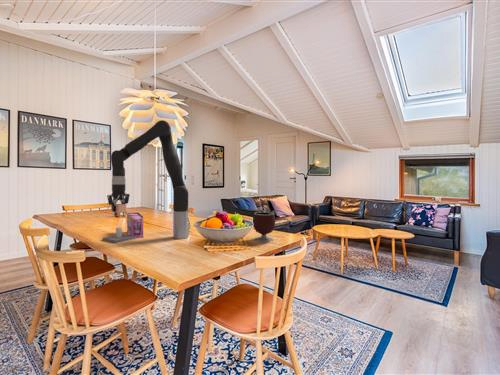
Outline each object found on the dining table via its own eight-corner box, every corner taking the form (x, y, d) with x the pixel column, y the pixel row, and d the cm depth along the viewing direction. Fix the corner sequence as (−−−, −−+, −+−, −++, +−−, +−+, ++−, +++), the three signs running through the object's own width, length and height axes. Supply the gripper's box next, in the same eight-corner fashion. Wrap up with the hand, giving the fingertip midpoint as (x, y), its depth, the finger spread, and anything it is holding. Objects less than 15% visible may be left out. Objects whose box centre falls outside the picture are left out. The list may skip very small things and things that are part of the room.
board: (121, 236, 178) (121, 224, 178) (134, 238, 172) (134, 226, 171) (102, 240, 167) (102, 227, 166) (115, 243, 160) (115, 230, 160)
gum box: (144, 238, 174) (144, 217, 174) (130, 239, 170) (130, 218, 170) (138, 231, 195) (138, 212, 194) (126, 232, 191) (126, 212, 191)
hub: (118, 210, 172) (118, 203, 172) (126, 211, 169) (126, 204, 168) (111, 211, 168) (111, 204, 167) (118, 212, 164) (118, 205, 164)
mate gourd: (248, 240, 173) (249, 208, 172) (260, 236, 185) (260, 206, 184) (270, 244, 165) (270, 211, 164) (280, 239, 176) (281, 208, 175)
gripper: (125, 183, 175) (125, 209, 176) (103, 183, 163) (103, 212, 164) (132, 183, 172) (132, 210, 173) (111, 184, 159) (111, 213, 160)
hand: (118, 211), depth 168 cm, fingers closed on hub, 5 cm apart
